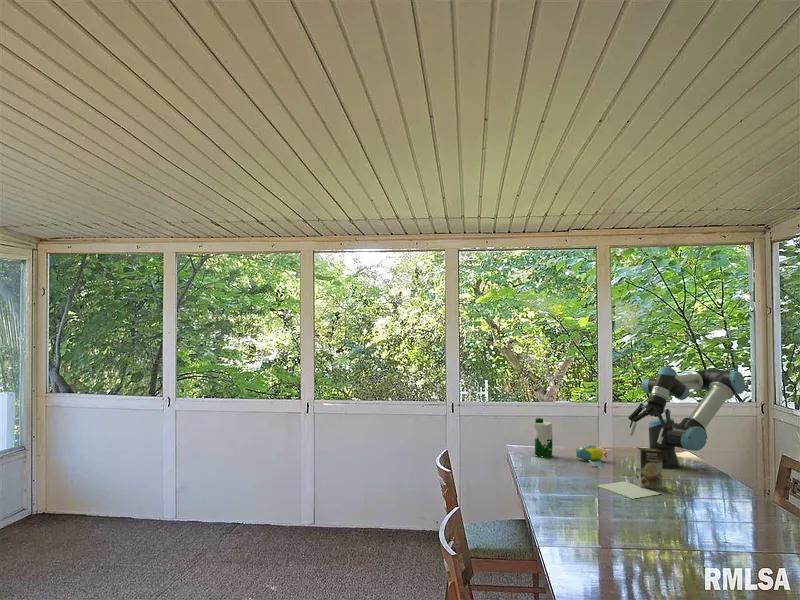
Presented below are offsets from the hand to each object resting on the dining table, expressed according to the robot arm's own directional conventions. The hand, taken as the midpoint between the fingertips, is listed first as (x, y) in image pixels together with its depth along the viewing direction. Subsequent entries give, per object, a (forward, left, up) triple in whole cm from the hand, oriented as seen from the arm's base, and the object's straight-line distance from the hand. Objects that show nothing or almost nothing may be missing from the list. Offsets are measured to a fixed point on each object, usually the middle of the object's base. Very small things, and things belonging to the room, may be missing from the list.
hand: (644, 439), depth 250 cm
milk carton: (+15, -55, -18) cm, 60 cm away
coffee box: (+10, +11, -18) cm, 23 cm away
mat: (+22, +11, -18) cm, 30 cm away
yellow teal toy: (-1, -36, -19) cm, 41 cm away
